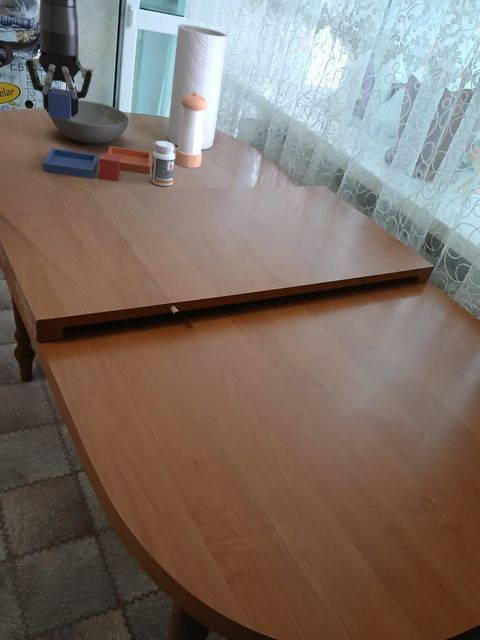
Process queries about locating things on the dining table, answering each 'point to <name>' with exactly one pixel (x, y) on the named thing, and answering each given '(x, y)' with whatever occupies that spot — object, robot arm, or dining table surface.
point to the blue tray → (71, 163)
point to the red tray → (132, 159)
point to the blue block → (59, 103)
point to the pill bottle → (163, 164)
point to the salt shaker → (191, 131)
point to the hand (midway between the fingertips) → (61, 113)
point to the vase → (197, 77)
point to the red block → (109, 167)
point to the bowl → (93, 123)
